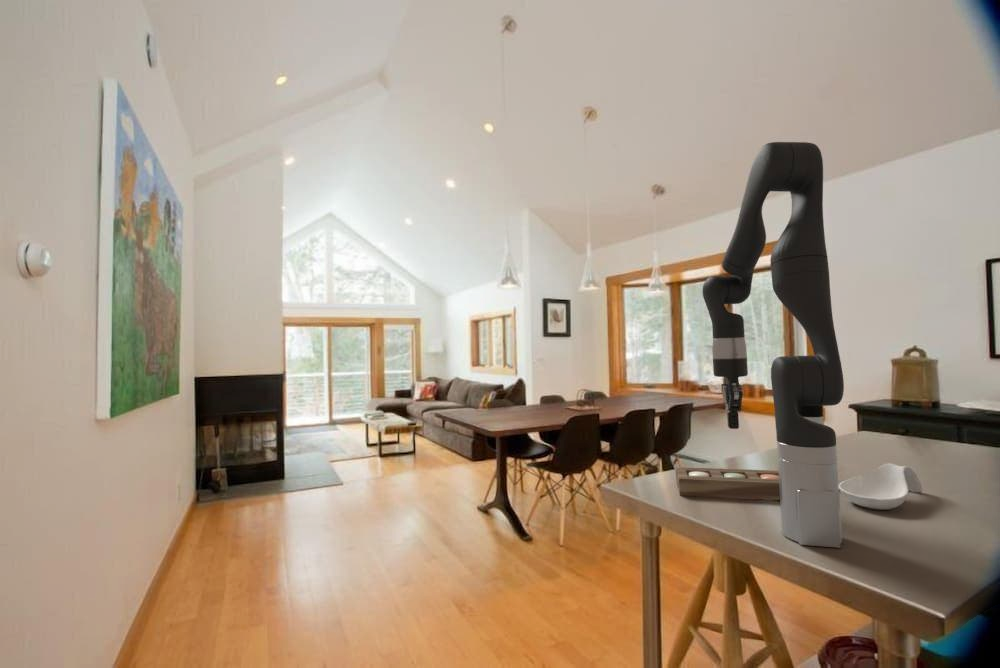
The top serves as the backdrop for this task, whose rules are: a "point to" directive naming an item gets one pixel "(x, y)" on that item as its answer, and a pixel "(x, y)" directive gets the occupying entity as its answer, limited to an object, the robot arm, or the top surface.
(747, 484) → the button panel
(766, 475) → the terracotta button
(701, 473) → the cream button
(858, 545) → the top surface
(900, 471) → the spoon rest
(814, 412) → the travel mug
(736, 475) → the sage button
